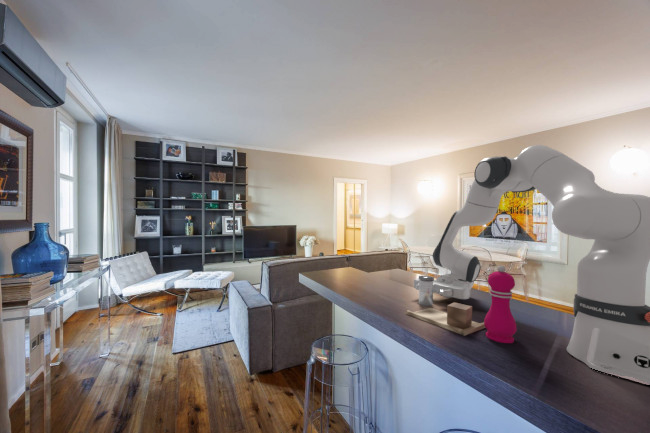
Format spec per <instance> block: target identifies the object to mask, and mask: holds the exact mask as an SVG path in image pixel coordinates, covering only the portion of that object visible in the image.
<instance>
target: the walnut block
mask: <svg viewBox="0 0 650 433" xmlns="http://www.w3.org/2000/svg"><path fill="white" fill-rule="evenodd" d="M446 313H447V324H448V325H451V326H454V327H457V328H460V329H463V330H464V329H466V328H469V327H472V321H473V306H472V305H467V304H462V303H458V302H455V301H454V302H452V303H450V304H447V310H446Z"/></svg>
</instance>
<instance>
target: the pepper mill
mask: <svg viewBox="0 0 650 433" xmlns="http://www.w3.org/2000/svg"><path fill="white" fill-rule="evenodd" d="M487 284H488V285H489V287H490V289H489V294H490V297H491V304H490V308H489V310H488V311H487V312H486V314H485V317H484V319H483V322H484V326H485V327H486V328H485V329H486V330H487V331H486V332H485V337H486V338H488V339H489V340H492V341H495V342H497V343H502V344H503V343H504V344H513V343H514V342H515V338H514V337H513V335H515V334H516V333H517V329H518V328H517V324H516V319H515V317H514V316H513V314H512V311H511V308H510V306H511V305H510V303H511V302H510V300H511V299H512V298H513V292H512V290H513V289H514V288H515V286H516V282H515V278H514V277H513V276H512V274H510V273H508V272H506V267H505V266H503V265H499V266H498V267H497V271H493V272H492V273H490V274H489V275H488V278H487Z"/></svg>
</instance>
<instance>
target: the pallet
mask: <svg viewBox="0 0 650 433" xmlns="http://www.w3.org/2000/svg"><path fill="white" fill-rule="evenodd" d="M405 313H406V315H408V316H410V317H413V318H416V319H419V320H421V321H424V322H426V323H429V324H432V325H433V326H437V327H440V328H443V329H446V330H448V331H451V332H453V333H456V334H460V335H461V336H467V335H470V334H473V333H476V332H479V331H480V330H483V329H486V327H485V326H484V321H483V322H480V323H479V322H477V321H473V320H472V327H469V328H466V329H464V330H463V329H460V328H457V327H454V326H451V325H448V324H447V311H446V312H445V311H442V310H439V309H436V308H433V307H428V308H424V309H420V310H417V311H412V310H409V309H408V310H406V312H405Z"/></svg>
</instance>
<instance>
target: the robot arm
mask: <svg viewBox="0 0 650 433" xmlns="http://www.w3.org/2000/svg"><path fill="white" fill-rule="evenodd" d="M595 178H596V176H595V174H594V173H593V171H592V170H590V169H588V168H587V167H585V166H583V165H582V164H581V163H578V162H577V161H576V160H574V159H572V158H571V157H570V156H568V155H566V154H564V153H562V152H560V151H558V150H556V149H554V148H552V147H548V146H547V145H543V144H534V145H530V146H528V147H526V148H524V149H523V150H522V151H521V152H520V153H519V154H518V155H517V156H516V157H507V156H505V155H504V156H490V157H486V158H483V159H481V160H480V161H479V162H478V163H477V165H476V166H475V170H474V180H473V182H472V183H471V187H470V188H469V191H468V193H467V197H466V200H465V203H464V205H463V206H462V208H461V209H458V210H455V212H453V214H452V215H451V217H450V219H449V221H448V223H447V225H446V227H445V229H444V232H443V234H442V235H441V237H440V240H439V242H438V243H437V245H436V246H435V249H434V250H433V253H432V259H433V263H434V264H435V266H438V267H441V268H443V269H446V270H448V271H451V273H445V274H441V275H439V276H438V277H437V278H436V279H434V281H433V294H438V295H440V296H442V298H447V299H448V298H455V299H459V300H469V299H470V296H471V290H472V288H473V287H474V284H475V281H476V280H477V279H478V277H479V275H480V272H481V268H482V267H481V263H480V260H479V258H478V256H476V255H474V254H471V253H469V252H466V251H463V250H461V249H458V248H456V247H454V246H453V242H454V240H455V239H456V236H457V235H458V232H460V231H459V230H460V229H461V228H463V227H479V226H483V225H487V224H489V223H490V222H492V221H493V220H494V219H495V216H496V215H497V213H498V210H499V206H500V203H501V198H502V197H503V195H504V194H505V193H506V192H511V193H526V192H531V191H535V190H536V191H538V192H539V193H540V194H541V195H542V196H544V197H545V199H547V200H548V201H549V202H550V203H551V205H552V206H553V208H552V212H551V218H552V222H553V224H554V226H555V227H556V229H557V230H558V231H560V232H561V233H563V234H565V235H568V236H571V237H575V238H578V239H583V240H594V241H593V244H592V247H591V248H590V250H589V252H588V253H587V255H585V256H584V257H582V258H581V259H580V261H579V262H578V264H577V270H576V271H577V274H576V276H577V277H576V279H577V280H576V282H577V283H576V293H575V294H574V298H573V306H572V307H573V308H572V309H573V316H574V318H575V319H574V322H573V323H574V324H573V329H572V332H571V337H570V339H569V341H568V345H567V347H566V351H567V353H569V354H570V355H571V356H573V357H574V358H575V359H577V360H579V361H581V362H582V363H584V364H586V366H588V368H590V369H591V368H592V370H593V369H595V370H598V371H602V372H607V373H613V374H617V375H620V376H628V377H633V378H635V379H638V380H640V381H643V382H647V383H649V384H650V306H649V305H647V304H646V286H647V284H646V282H647V272H648V267H649V264H650V196H648V195H645V194H644V195H643V194H634V193H633V194H631V193H620V192H619V193H618V192H614V191H610V190H606V189H604V188H602V187H601V186H599V185H598V184H597V183H596V182H595V180H596V179H595ZM412 283H413V284H412V285H413V286H412V287H413V288H414V289H415V290H416V291H419V277H418V278H414V279H413V282H412ZM595 370H594V371H595ZM598 371H597V372H598Z"/></svg>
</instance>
